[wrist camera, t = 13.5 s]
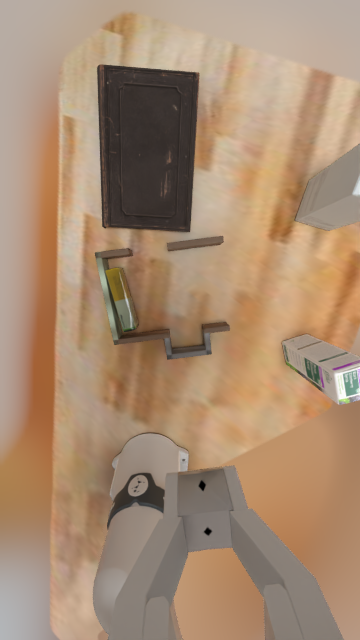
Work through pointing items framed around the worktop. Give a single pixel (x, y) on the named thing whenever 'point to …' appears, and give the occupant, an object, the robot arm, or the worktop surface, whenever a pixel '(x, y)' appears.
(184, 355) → the trap corral
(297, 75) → the worktop surface
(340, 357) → the syrup box
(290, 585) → the robot arm
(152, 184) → the hardcover book
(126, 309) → the medication box
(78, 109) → the worktop surface
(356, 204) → the supplement box
